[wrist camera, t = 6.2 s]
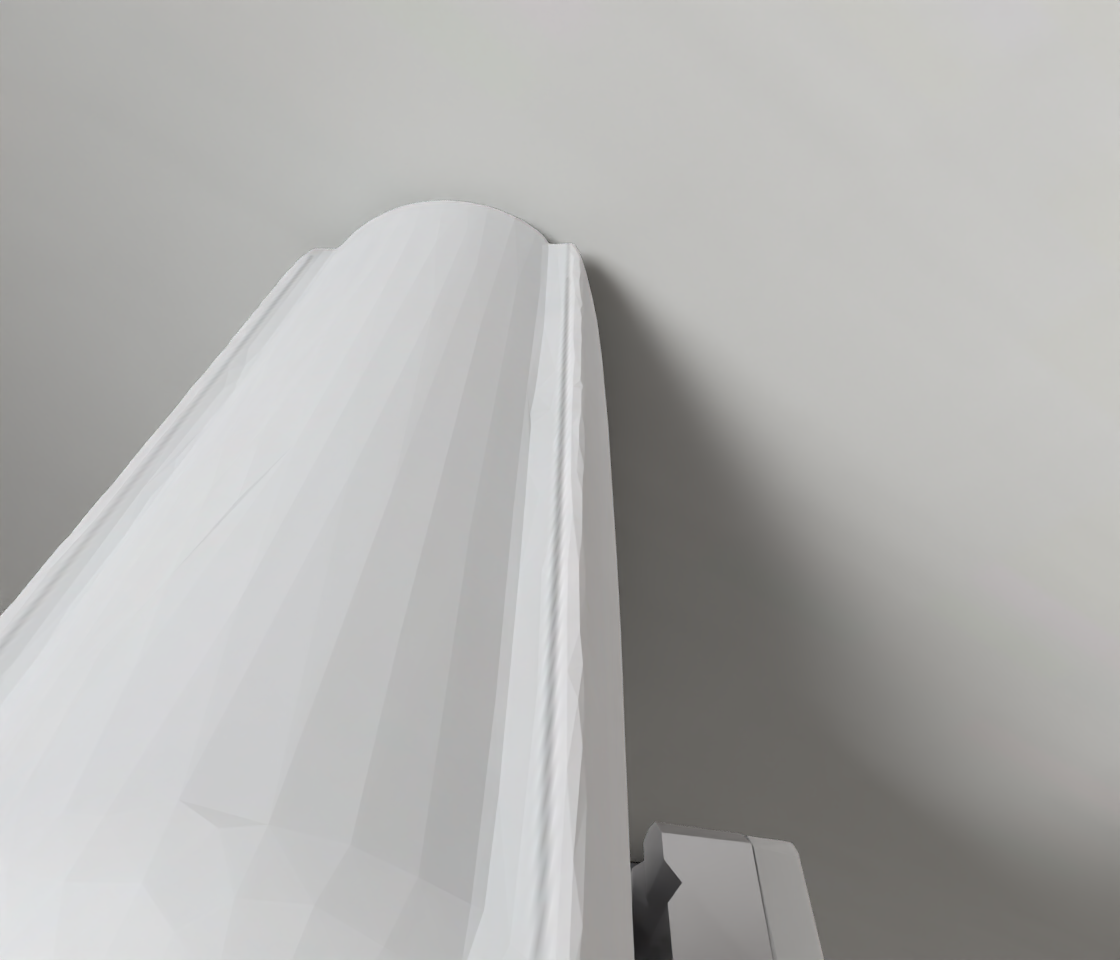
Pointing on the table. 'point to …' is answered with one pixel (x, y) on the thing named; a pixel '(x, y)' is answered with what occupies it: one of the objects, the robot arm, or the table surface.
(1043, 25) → the table surface
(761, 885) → the robot arm
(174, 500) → the photo printer
